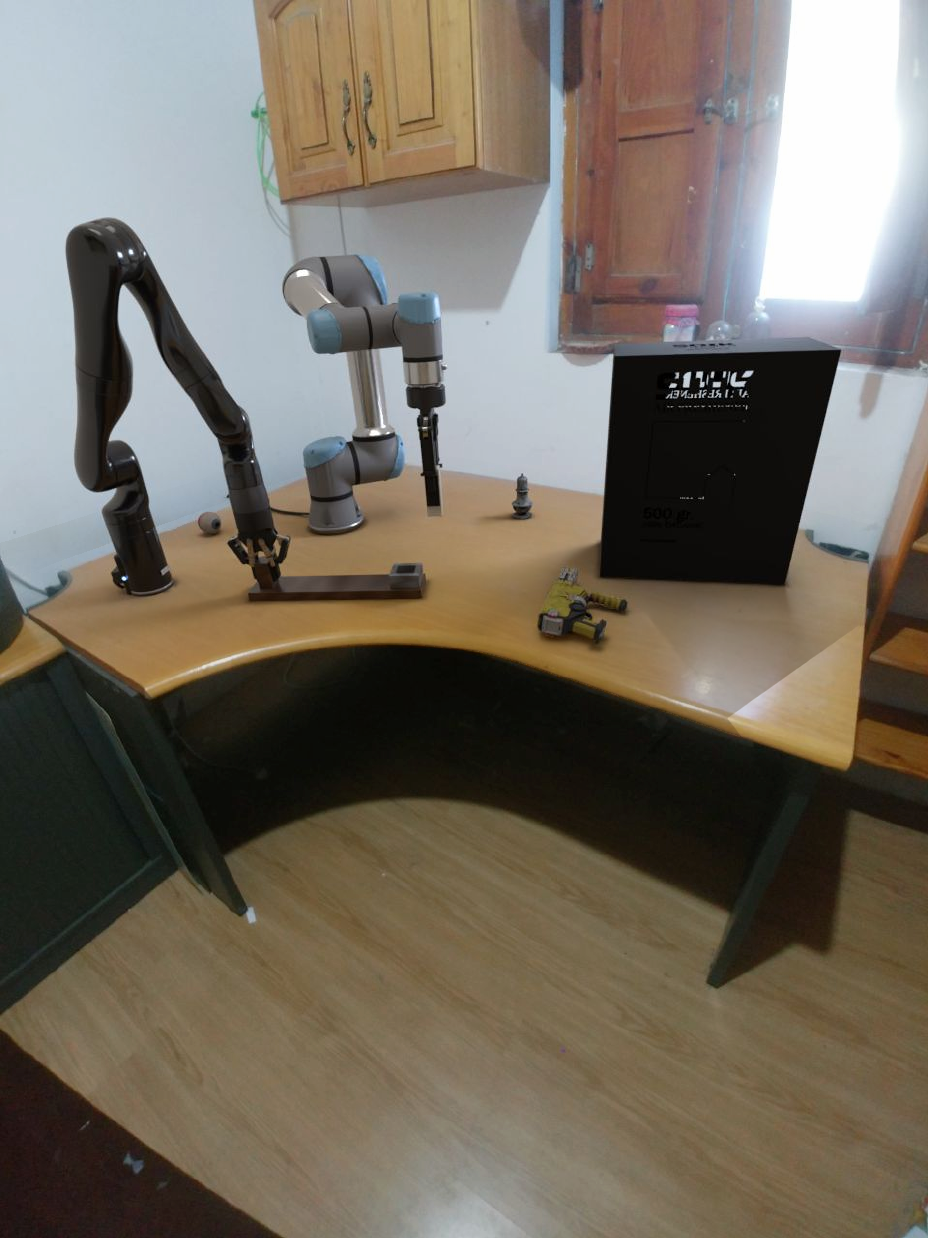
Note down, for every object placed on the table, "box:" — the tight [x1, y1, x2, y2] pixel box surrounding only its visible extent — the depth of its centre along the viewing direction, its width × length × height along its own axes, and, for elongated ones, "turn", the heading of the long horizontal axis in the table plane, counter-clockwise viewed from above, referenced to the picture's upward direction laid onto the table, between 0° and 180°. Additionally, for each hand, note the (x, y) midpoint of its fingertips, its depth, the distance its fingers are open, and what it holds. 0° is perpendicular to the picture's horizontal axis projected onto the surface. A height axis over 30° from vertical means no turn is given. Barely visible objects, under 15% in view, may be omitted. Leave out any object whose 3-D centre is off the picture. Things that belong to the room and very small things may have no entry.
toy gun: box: [536, 566, 629, 645], centre depth 118 cm, size 5×24×15 cm
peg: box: [423, 465, 444, 518], centre depth 125 cm, size 3×3×10 cm
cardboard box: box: [599, 336, 842, 586], centre depth 126 cm, size 38×20×45 cm, turn 78°
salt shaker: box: [511, 472, 534, 520], centre depth 165 cm, size 6×6×12 cm
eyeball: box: [197, 511, 222, 534], centre depth 167 cm, size 6×6×6 cm
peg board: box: [247, 555, 427, 602], centre depth 132 cm, size 38×8×8 cm, turn 86°
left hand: (268, 579), depth 133 cm, fingers closed on peg board, 3 cm apart
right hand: (434, 502), depth 126 cm, fingers closed on peg, 3 cm apart
